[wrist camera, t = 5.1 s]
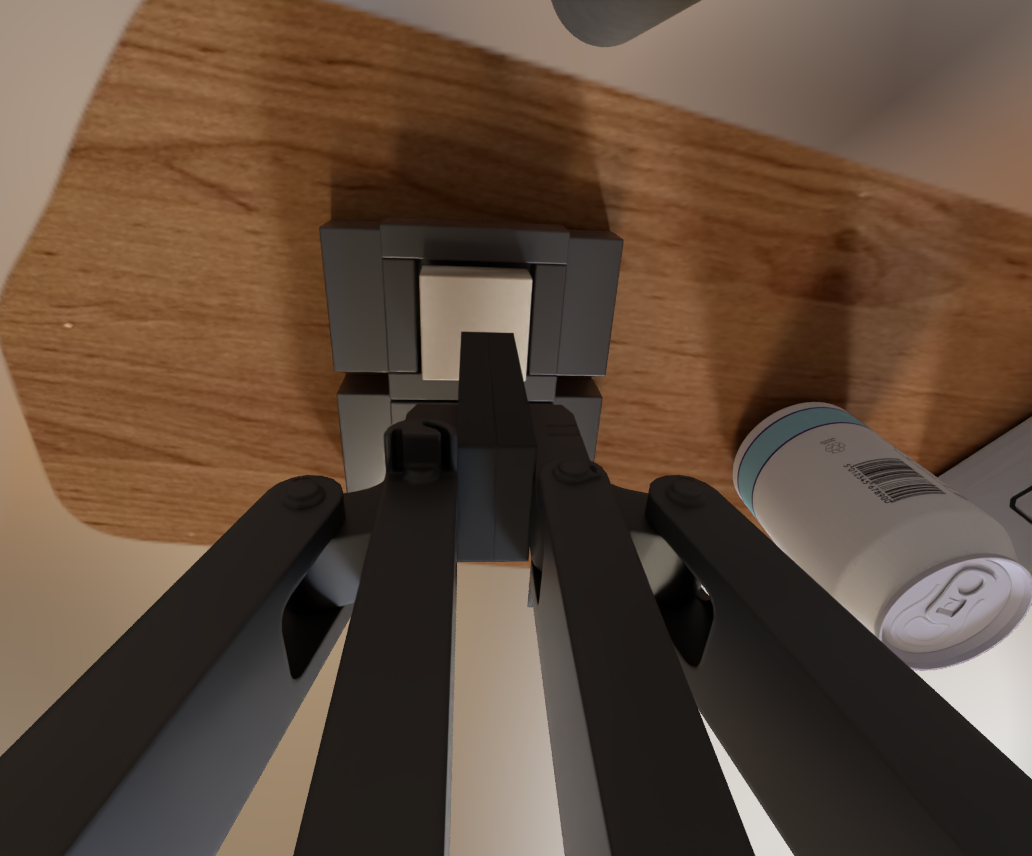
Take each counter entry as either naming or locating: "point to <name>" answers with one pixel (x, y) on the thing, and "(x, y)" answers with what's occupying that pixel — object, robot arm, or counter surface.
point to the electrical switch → (1002, 485)
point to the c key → (470, 312)
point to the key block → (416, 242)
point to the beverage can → (883, 535)
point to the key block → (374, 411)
